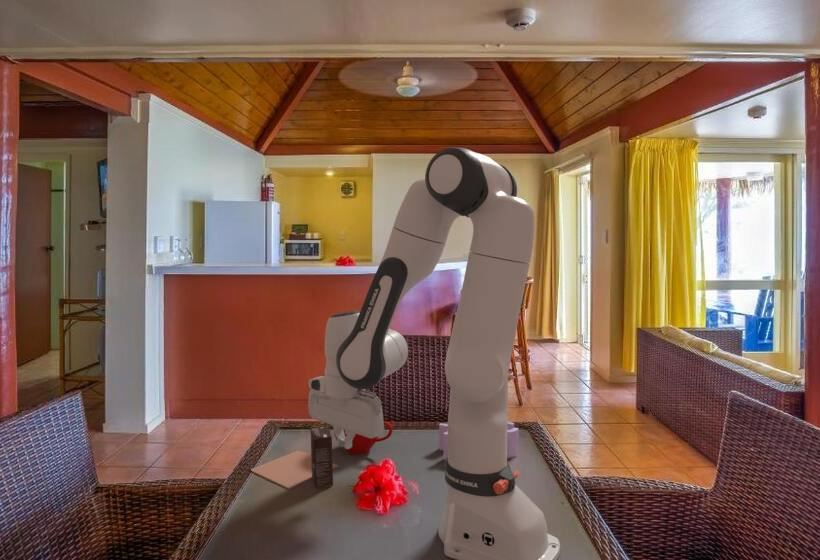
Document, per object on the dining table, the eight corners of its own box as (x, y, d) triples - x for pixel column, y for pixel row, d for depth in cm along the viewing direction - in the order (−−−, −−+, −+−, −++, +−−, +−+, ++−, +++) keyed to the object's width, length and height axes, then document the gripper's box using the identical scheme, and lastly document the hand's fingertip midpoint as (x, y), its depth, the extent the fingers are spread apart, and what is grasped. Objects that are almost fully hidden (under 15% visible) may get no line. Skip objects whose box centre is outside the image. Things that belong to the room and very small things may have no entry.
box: (310, 476, 124) (310, 427, 123) (329, 473, 125) (329, 425, 124) (313, 489, 118) (313, 438, 117) (333, 486, 120) (333, 436, 118)
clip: (508, 442, 146) (509, 417, 146) (523, 461, 134) (524, 434, 133) (437, 445, 144) (437, 420, 144) (445, 464, 132) (445, 437, 131)
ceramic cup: (379, 466, 130) (379, 426, 130) (322, 454, 138) (322, 416, 137) (403, 447, 142) (403, 411, 141) (349, 437, 149) (349, 402, 149)
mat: (338, 466, 130) (338, 465, 130) (289, 489, 118) (289, 488, 118) (298, 451, 139) (298, 450, 139) (249, 470, 128) (249, 469, 128)
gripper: (390, 391, 111) (389, 455, 112) (324, 374, 124) (324, 431, 125) (369, 398, 106) (369, 464, 107) (303, 379, 119) (303, 439, 120)
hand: (344, 446), depth 116 cm, fingers closed
